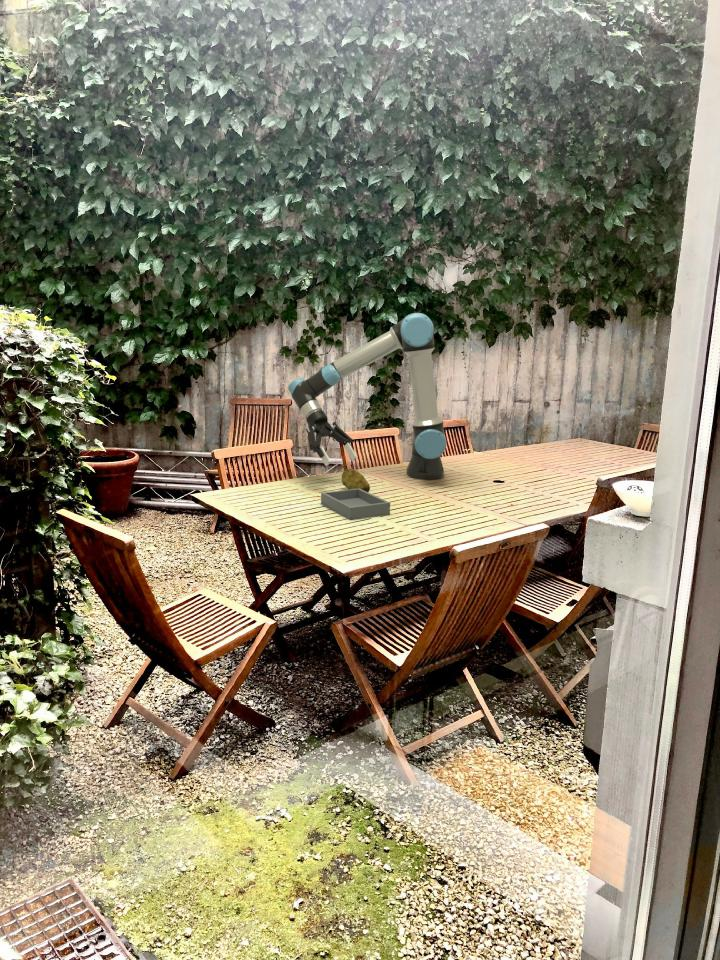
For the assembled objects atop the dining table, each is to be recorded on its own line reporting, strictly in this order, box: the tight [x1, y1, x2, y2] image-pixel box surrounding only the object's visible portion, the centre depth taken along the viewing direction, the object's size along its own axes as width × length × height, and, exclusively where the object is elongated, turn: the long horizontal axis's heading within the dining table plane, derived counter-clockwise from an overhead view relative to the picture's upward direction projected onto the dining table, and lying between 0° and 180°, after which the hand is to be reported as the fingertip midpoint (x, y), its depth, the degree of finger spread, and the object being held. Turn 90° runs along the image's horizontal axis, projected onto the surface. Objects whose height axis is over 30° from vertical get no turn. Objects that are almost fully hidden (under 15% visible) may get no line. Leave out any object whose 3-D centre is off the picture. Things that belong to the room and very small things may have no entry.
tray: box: [320, 488, 391, 521], centre depth 235 cm, size 20×15×4 cm
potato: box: [341, 468, 371, 493], centre depth 256 cm, size 8×13×8 cm, turn 19°
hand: (341, 461), depth 258 cm, fingers open, 13 cm apart
